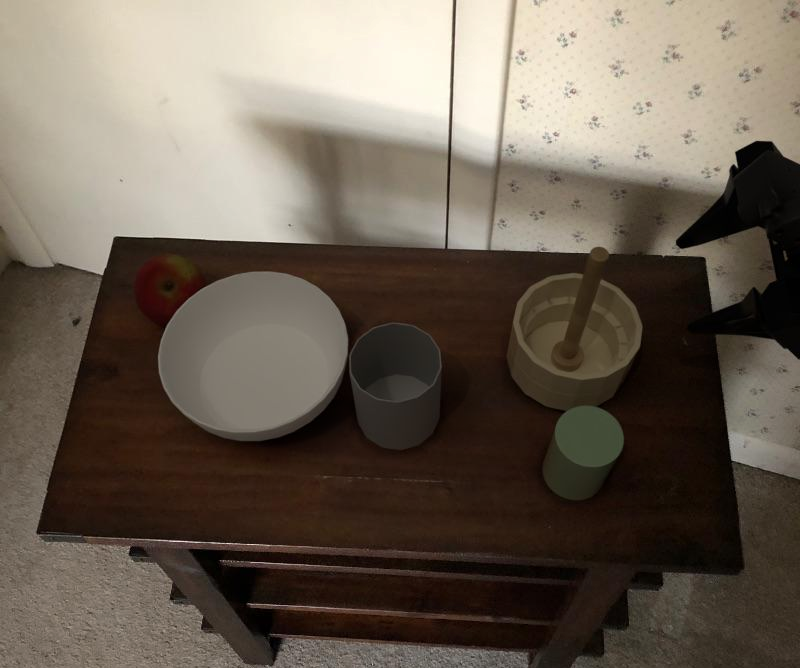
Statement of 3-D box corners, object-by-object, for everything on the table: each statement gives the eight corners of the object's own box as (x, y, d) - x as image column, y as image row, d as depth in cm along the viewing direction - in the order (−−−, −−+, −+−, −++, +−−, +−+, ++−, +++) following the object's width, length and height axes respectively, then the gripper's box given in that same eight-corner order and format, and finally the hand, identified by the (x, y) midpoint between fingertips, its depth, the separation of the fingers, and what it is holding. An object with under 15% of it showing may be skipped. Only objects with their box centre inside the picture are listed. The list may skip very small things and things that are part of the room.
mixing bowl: (577, 296, 84) (589, 255, 78) (649, 378, 79) (668, 341, 73) (484, 345, 81) (489, 307, 75) (552, 433, 76) (564, 400, 70)
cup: (442, 447, 76) (444, 399, 67) (358, 452, 76) (350, 405, 67) (435, 374, 80) (437, 319, 71) (356, 378, 80) (348, 325, 71)
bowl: (341, 472, 75) (334, 440, 68) (159, 457, 76) (135, 424, 69) (364, 317, 83) (359, 276, 77) (200, 306, 84) (182, 265, 78)
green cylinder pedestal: (579, 433, 76) (595, 394, 69) (617, 480, 74) (638, 445, 66) (529, 461, 75) (541, 425, 68) (567, 511, 72) (582, 479, 65)
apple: (138, 341, 82) (112, 297, 75) (158, 281, 86) (135, 233, 79) (207, 347, 82) (187, 303, 75) (224, 286, 86) (206, 239, 79)
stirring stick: (569, 341, 80) (602, 233, 66) (587, 363, 79) (626, 258, 64) (544, 354, 80) (572, 249, 65) (562, 377, 78) (596, 274, 63)
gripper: (811, 52, 57) (625, 158, 67) (864, 248, 48) (641, 335, 59) (865, 137, 63) (689, 222, 74) (921, 324, 55) (712, 391, 65)
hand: (682, 285), depth 68 cm, fingers open, 9 cm apart
